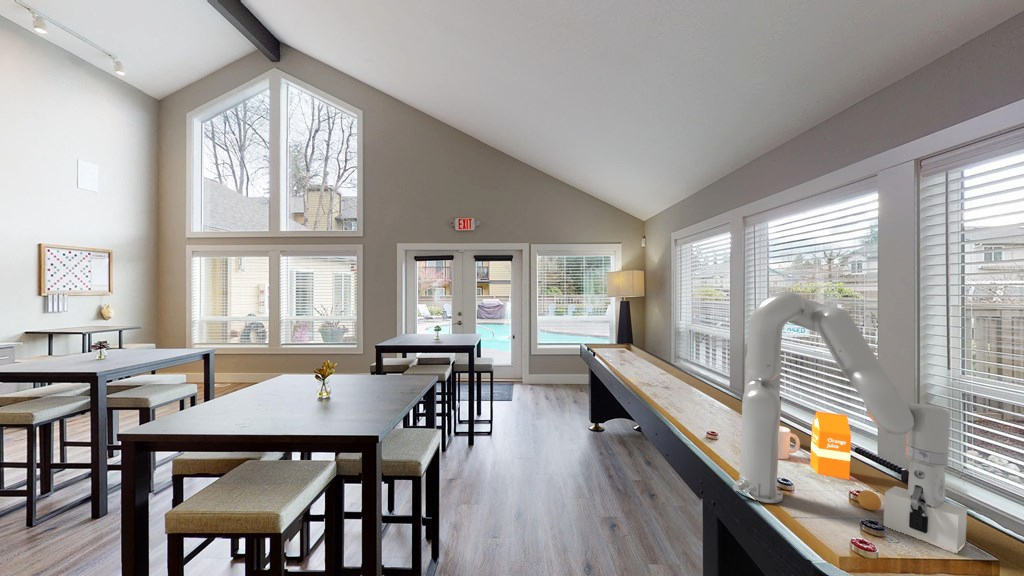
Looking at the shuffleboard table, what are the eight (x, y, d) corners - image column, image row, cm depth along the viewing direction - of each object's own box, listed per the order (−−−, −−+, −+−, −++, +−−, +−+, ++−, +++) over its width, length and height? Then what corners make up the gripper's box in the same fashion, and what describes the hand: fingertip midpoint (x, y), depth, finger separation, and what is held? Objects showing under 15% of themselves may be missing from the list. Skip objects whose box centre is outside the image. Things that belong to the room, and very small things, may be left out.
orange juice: (849, 479, 136) (852, 418, 137) (817, 474, 139) (820, 414, 140) (840, 470, 144) (842, 412, 144) (809, 465, 147) (812, 408, 147)
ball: (876, 515, 113) (877, 497, 113) (854, 507, 117) (855, 489, 117) (883, 511, 116) (884, 493, 116) (861, 503, 120) (862, 485, 120)
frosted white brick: (956, 554, 97) (958, 516, 97) (883, 526, 108) (884, 491, 108) (965, 545, 101) (967, 508, 101) (894, 518, 112) (895, 485, 112)
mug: (794, 454, 157) (795, 426, 157) (804, 462, 149) (806, 433, 149) (759, 450, 160) (760, 423, 160) (768, 458, 151) (769, 430, 151)
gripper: (936, 467, 97) (933, 543, 96) (957, 455, 106) (954, 524, 106) (894, 455, 103) (891, 527, 103) (917, 445, 112) (914, 510, 112)
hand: (923, 525), depth 104 cm, fingers closed on frosted white brick, 7 cm apart
